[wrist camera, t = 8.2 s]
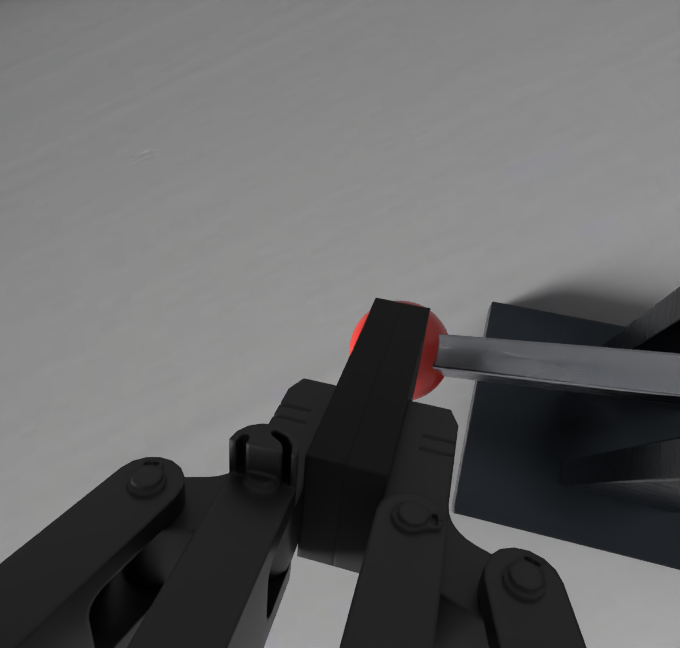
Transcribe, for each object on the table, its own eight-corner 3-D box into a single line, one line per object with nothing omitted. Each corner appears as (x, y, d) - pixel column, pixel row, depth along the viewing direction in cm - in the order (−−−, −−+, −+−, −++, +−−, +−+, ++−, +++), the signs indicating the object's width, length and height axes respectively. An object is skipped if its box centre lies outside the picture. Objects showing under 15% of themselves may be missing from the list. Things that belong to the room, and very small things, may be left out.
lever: (369, 404, 21) (320, 380, 18) (388, 317, 21) (344, 283, 19) (861, 484, 13) (894, 464, 11) (864, 349, 14) (896, 301, 12)
